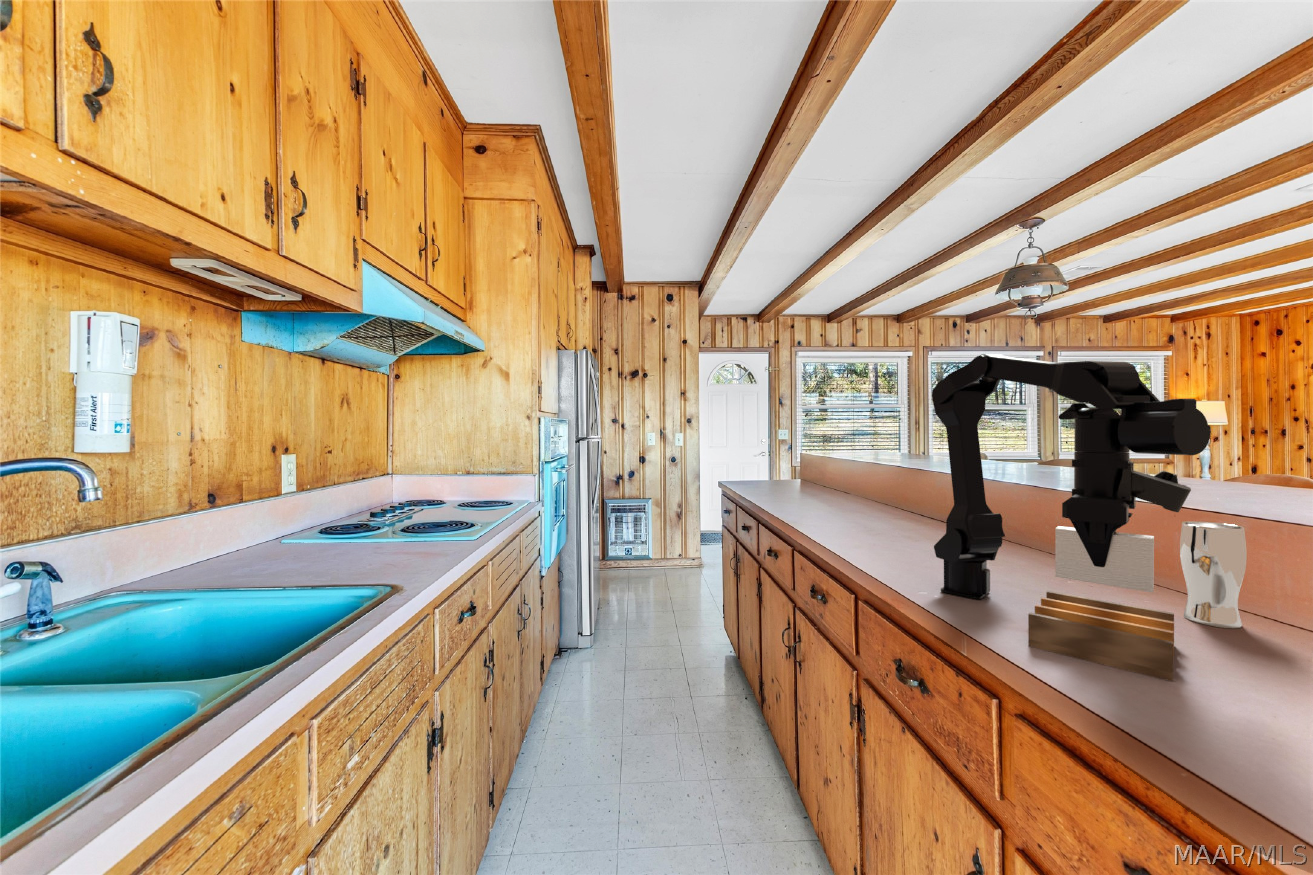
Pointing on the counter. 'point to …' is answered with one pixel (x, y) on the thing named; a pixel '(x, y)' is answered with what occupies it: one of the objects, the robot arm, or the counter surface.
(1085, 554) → the aluminium panel
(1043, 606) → the walnut rack
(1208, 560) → the beer glass
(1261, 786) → the counter surface
